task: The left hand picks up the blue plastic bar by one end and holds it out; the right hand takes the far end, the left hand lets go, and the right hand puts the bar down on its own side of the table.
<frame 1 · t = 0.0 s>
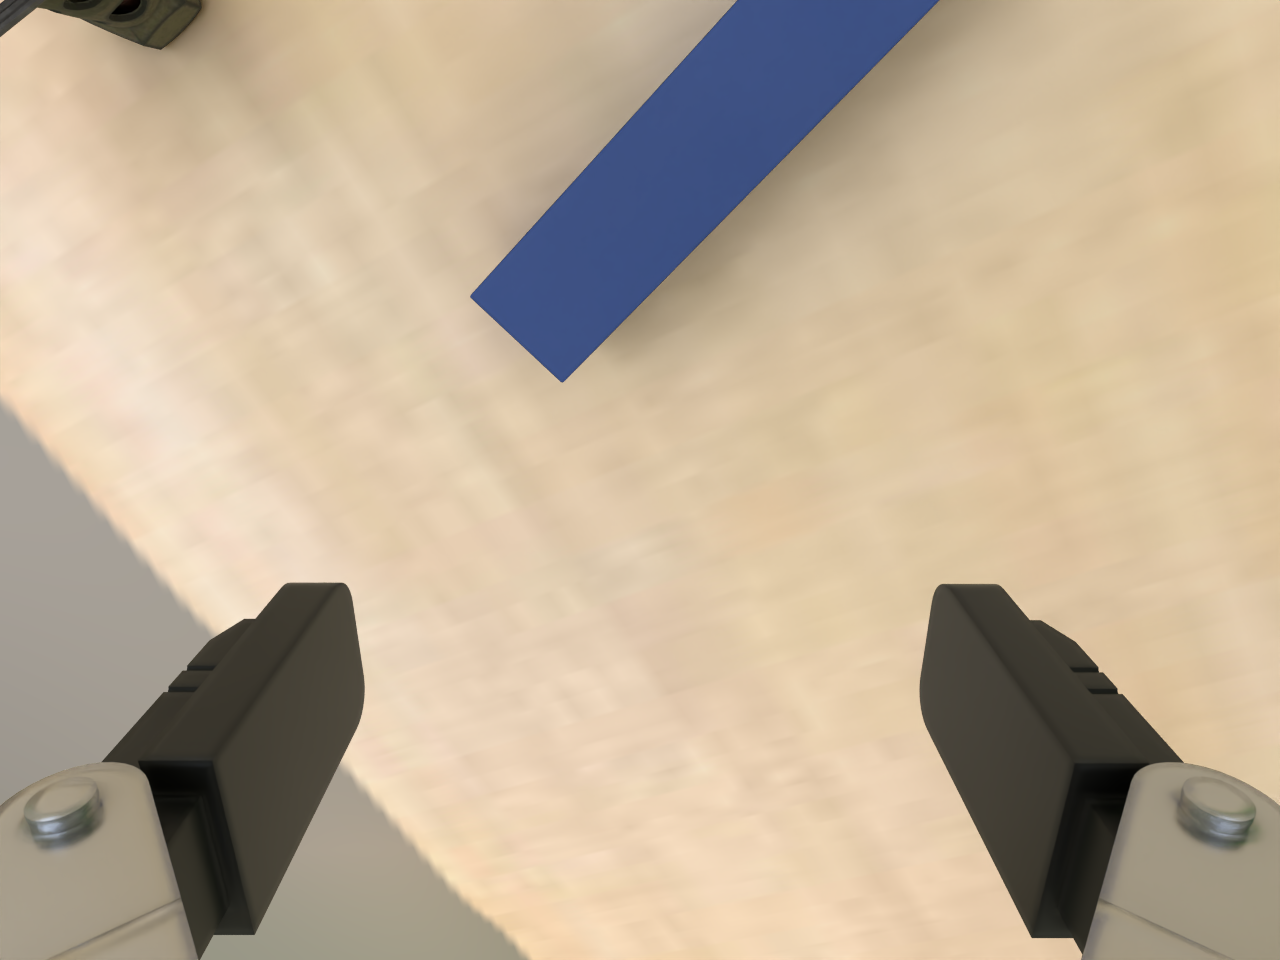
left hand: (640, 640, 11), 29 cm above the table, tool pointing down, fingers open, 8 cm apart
bar: (750, 81, 35), on the table
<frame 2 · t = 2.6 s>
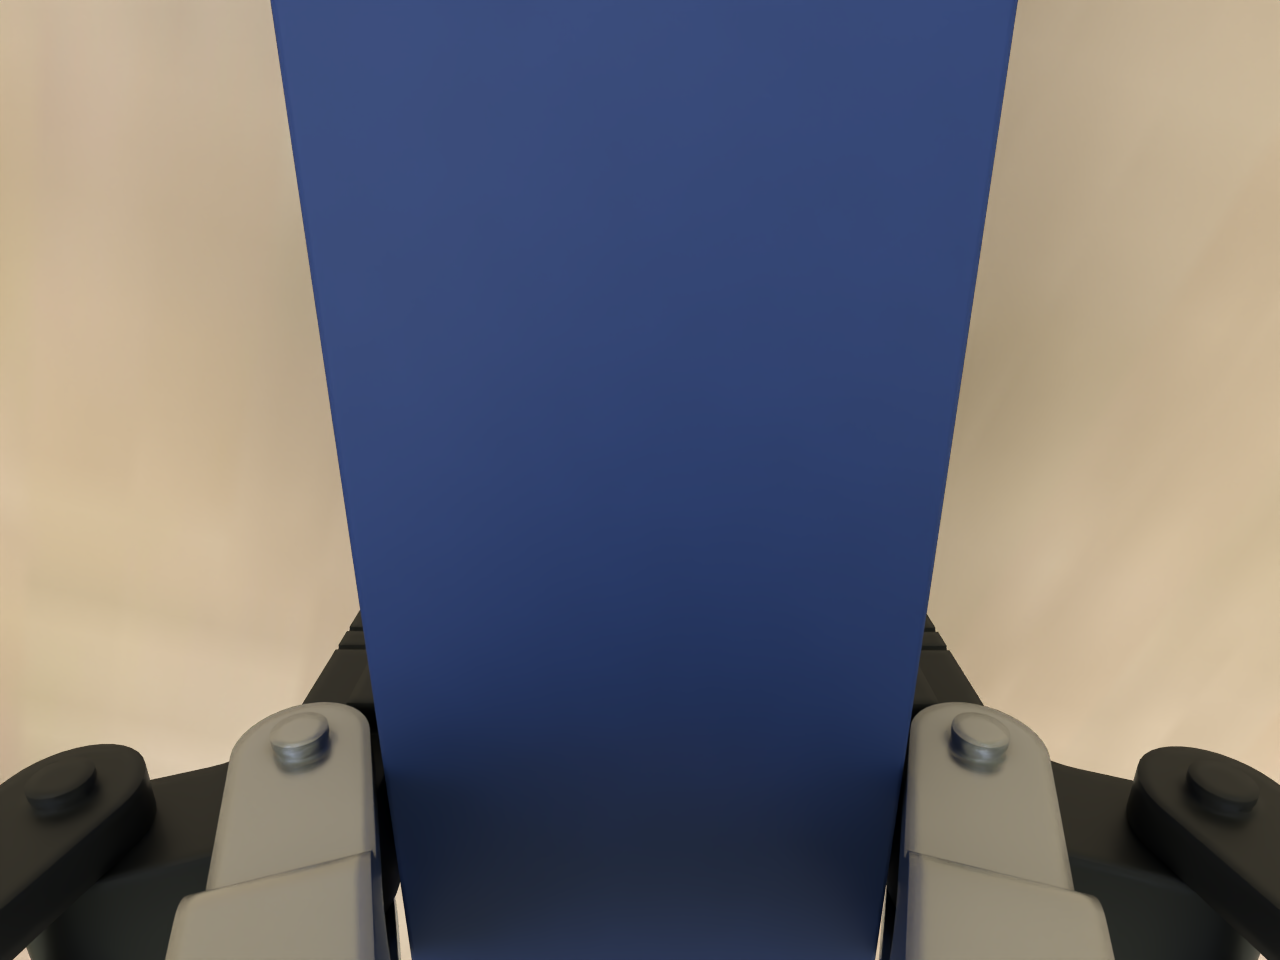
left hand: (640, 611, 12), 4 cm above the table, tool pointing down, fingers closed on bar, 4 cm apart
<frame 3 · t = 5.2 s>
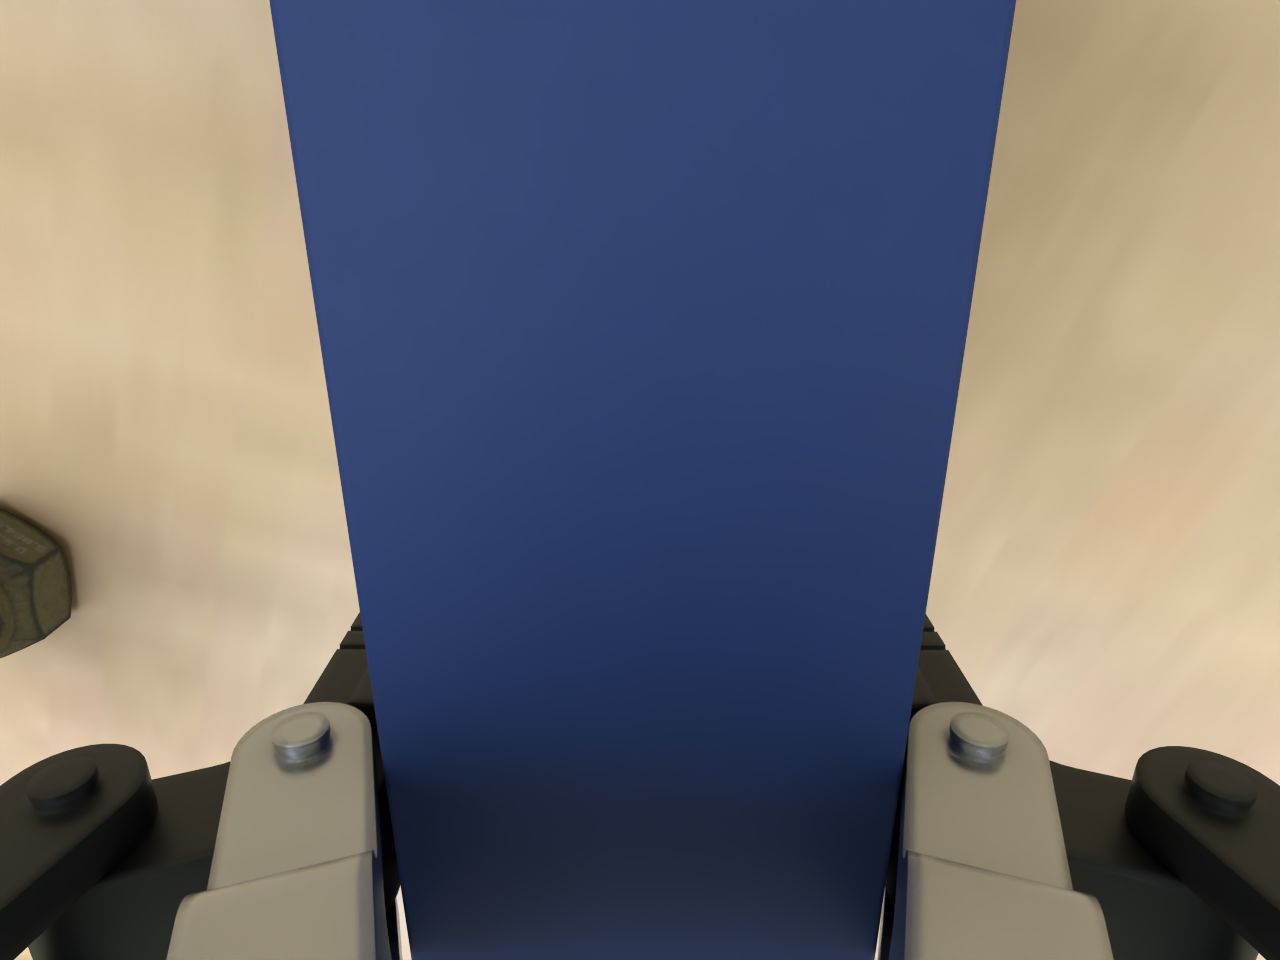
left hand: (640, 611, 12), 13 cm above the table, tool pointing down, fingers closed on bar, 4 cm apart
grenade: (24, 541, 26), on the table
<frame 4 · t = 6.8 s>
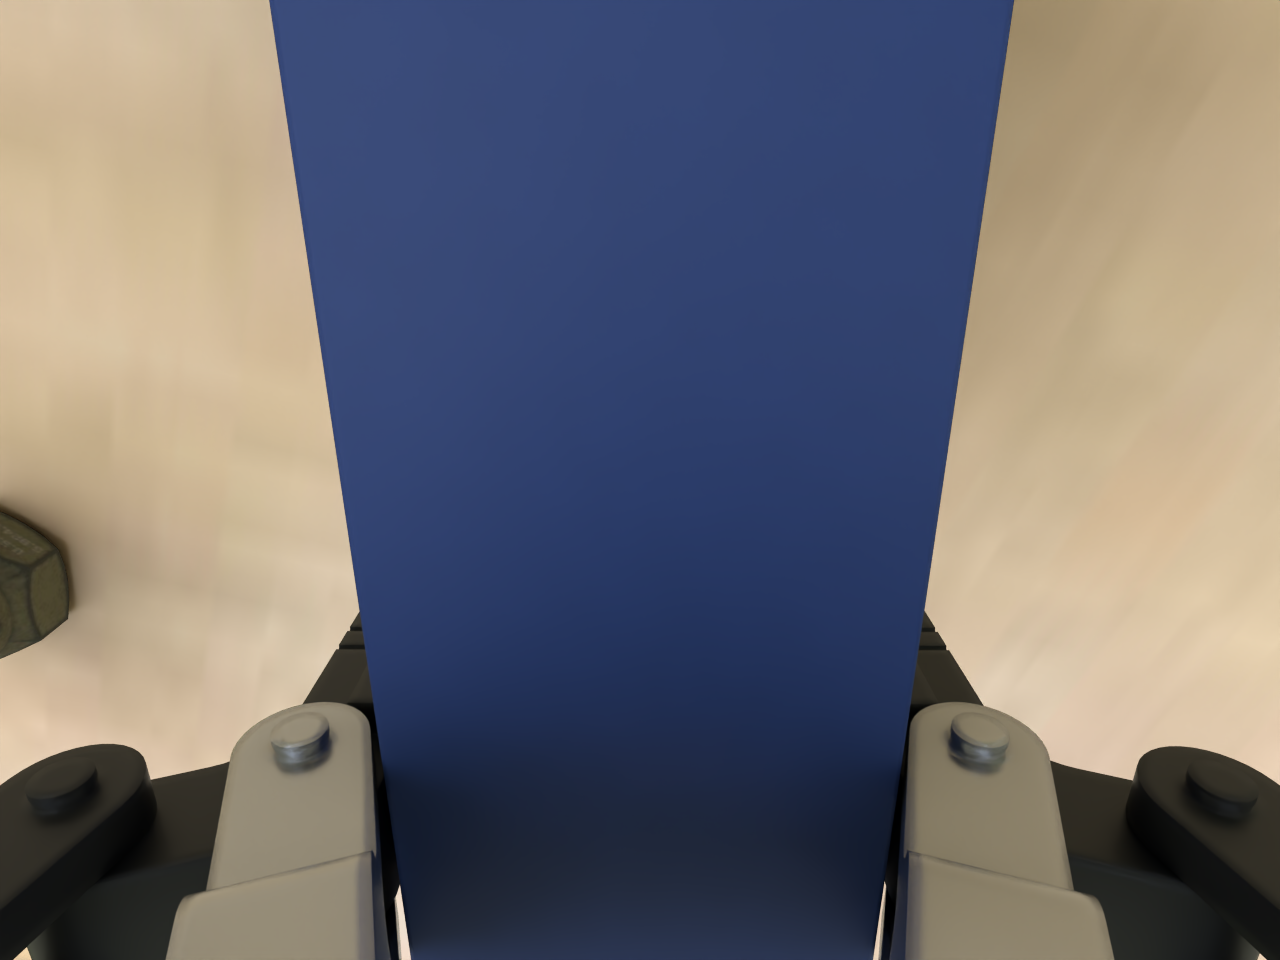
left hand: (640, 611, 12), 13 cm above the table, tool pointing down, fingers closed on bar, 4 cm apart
grenade: (22, 543, 26), on the table
when the left hand's fingers open (13 cm above the table, at t = 7.8 s): bar stays where it is, held by the right hand.
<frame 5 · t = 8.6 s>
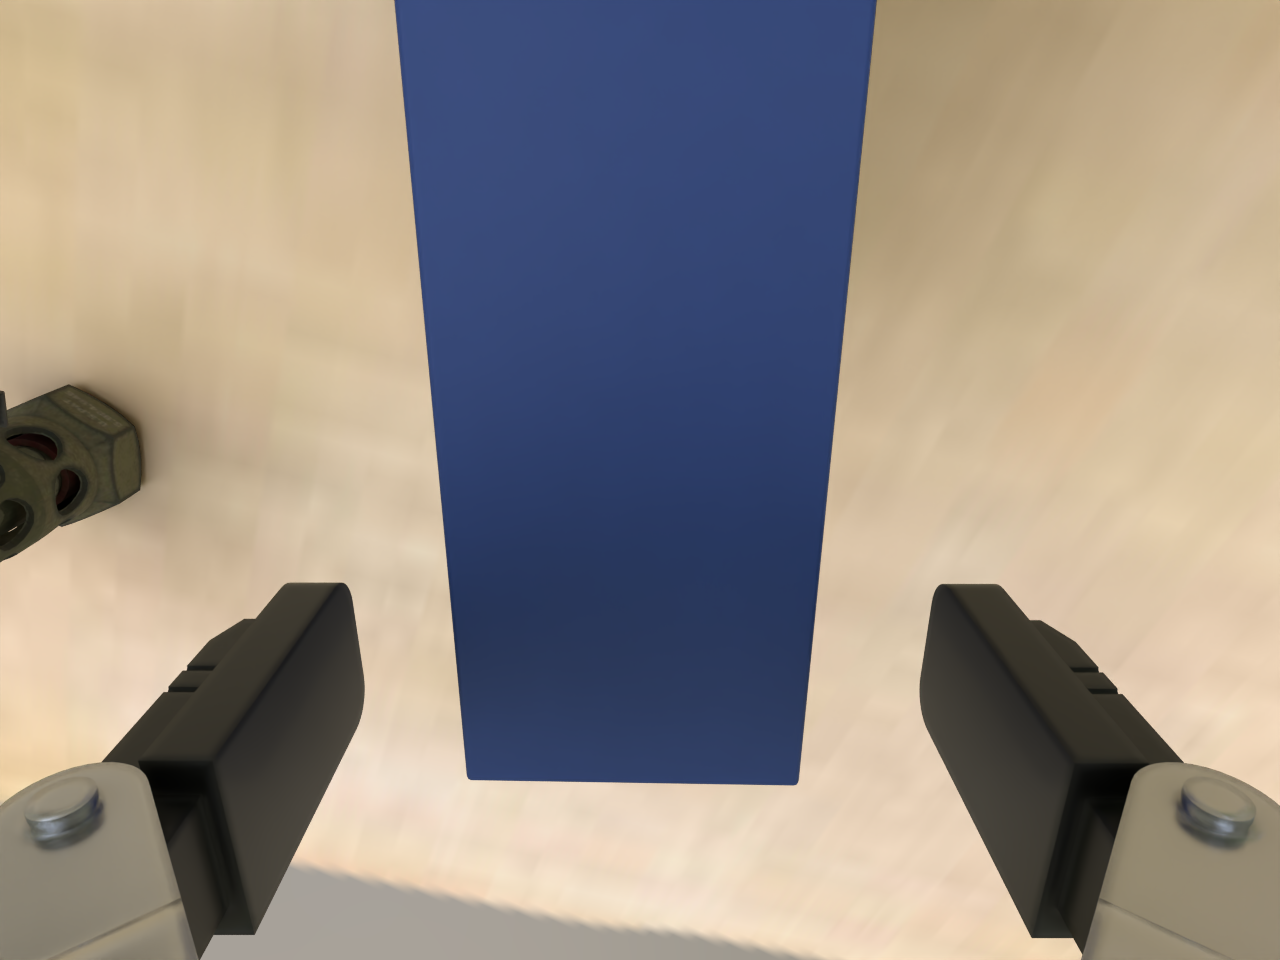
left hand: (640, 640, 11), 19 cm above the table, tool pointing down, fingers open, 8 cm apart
grenade: (102, 422, 30), on the table
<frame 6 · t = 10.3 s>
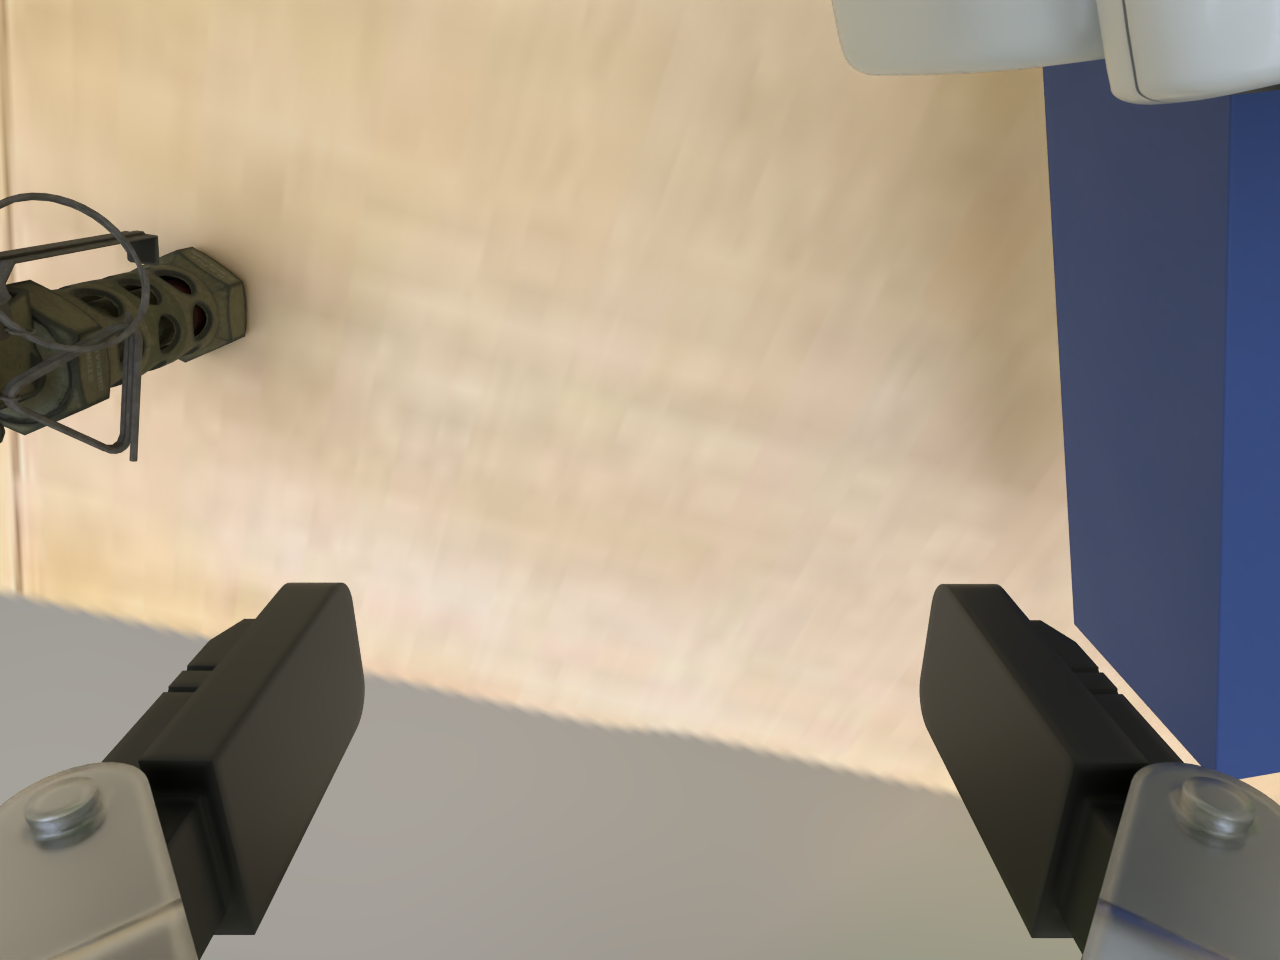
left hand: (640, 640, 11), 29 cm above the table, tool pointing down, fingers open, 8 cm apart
grenade: (215, 281, 38), on the table
bar: (1128, 262, 26), point 12 cm above the table, touching right hand
when the right hand's fingers open (5 cm above the table, at t = 14.0 s): bar stays where it is, on the table.
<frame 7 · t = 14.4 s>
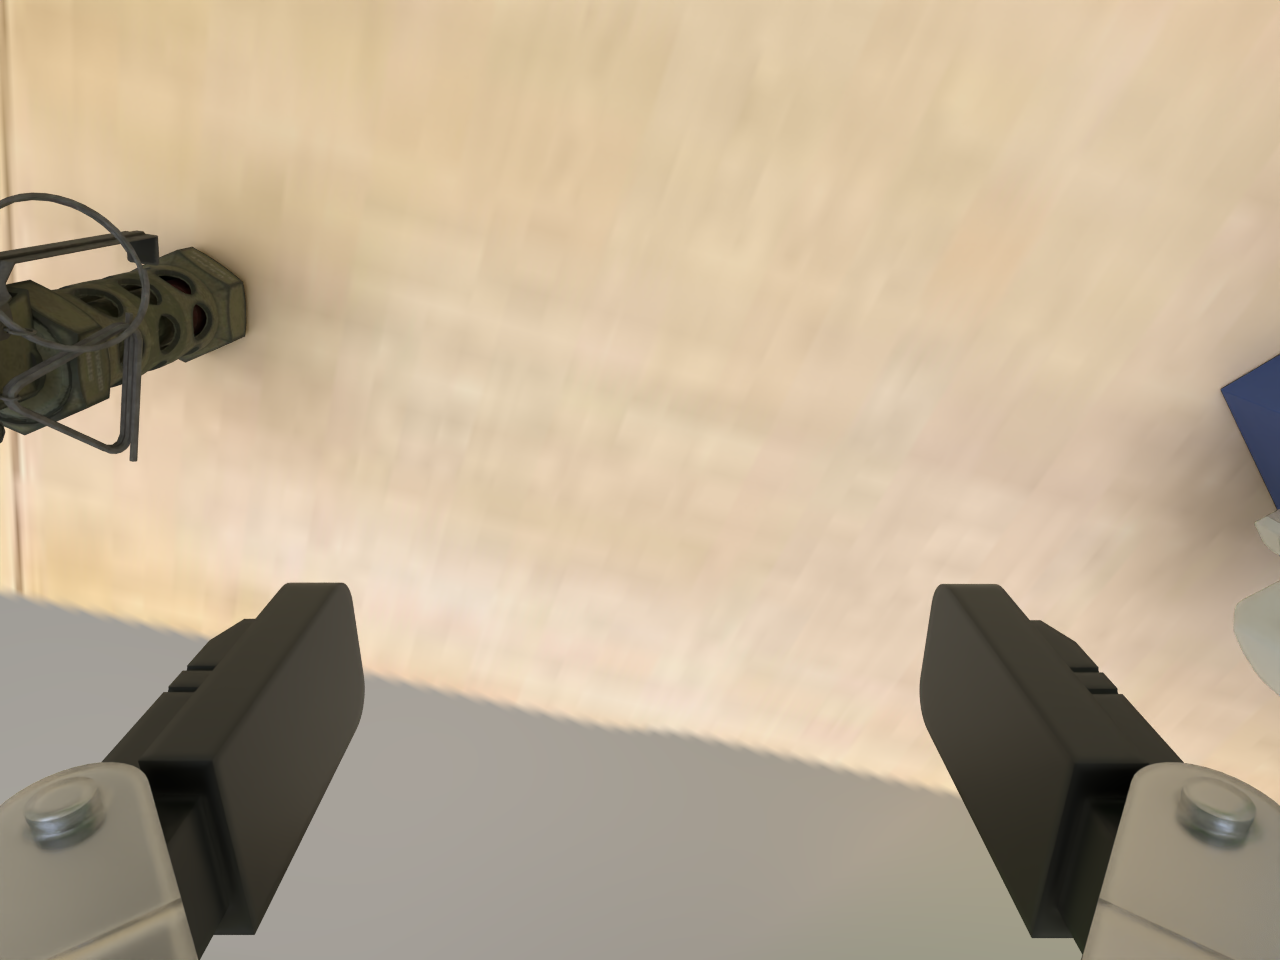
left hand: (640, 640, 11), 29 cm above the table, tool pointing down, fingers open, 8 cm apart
grenade: (215, 281, 38), on the table
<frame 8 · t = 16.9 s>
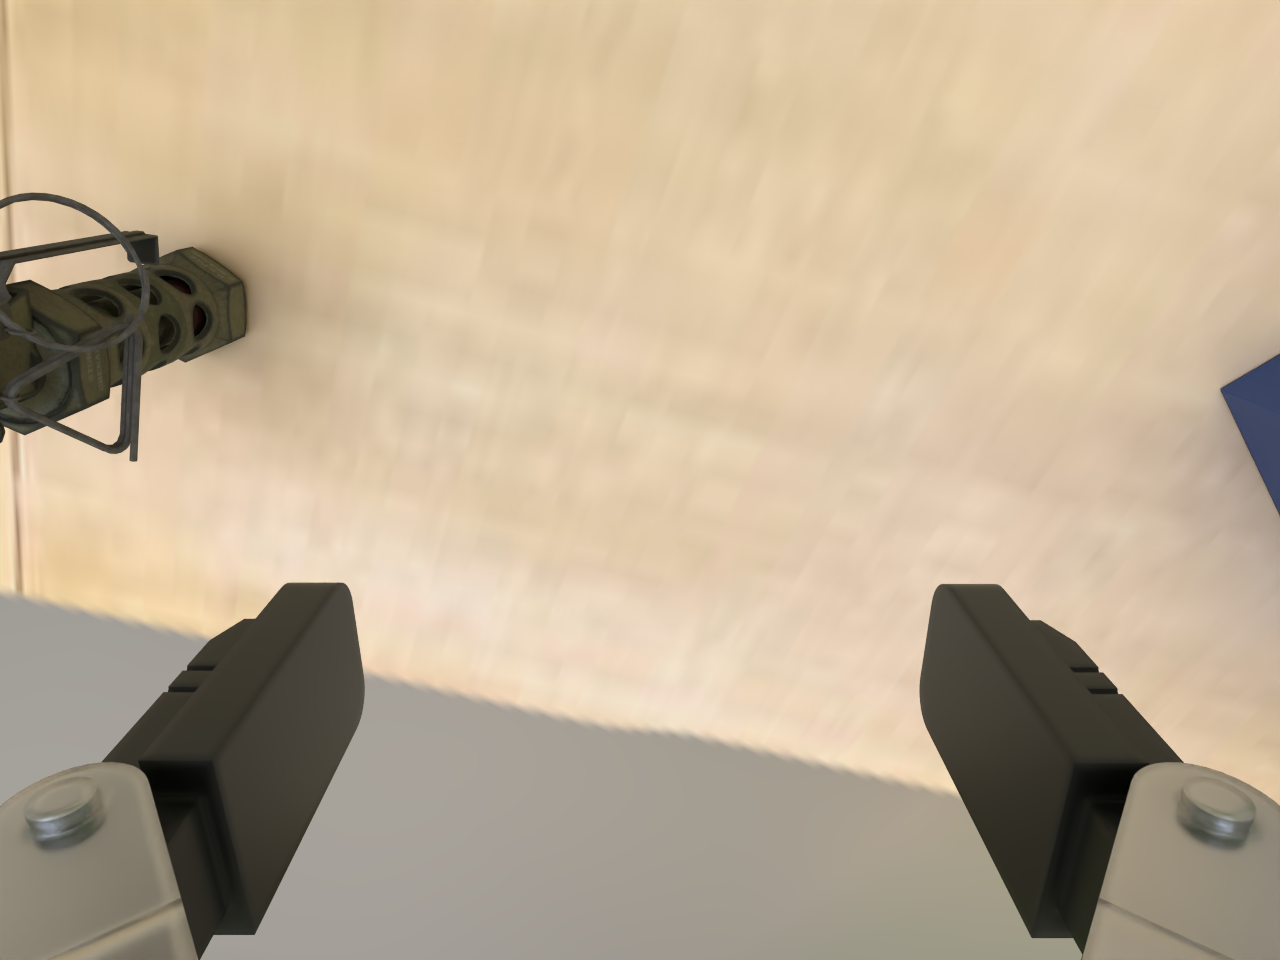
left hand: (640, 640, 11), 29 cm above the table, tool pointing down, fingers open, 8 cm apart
grenade: (215, 281, 38), on the table
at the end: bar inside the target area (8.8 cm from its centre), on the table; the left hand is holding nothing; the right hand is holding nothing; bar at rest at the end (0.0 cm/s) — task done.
